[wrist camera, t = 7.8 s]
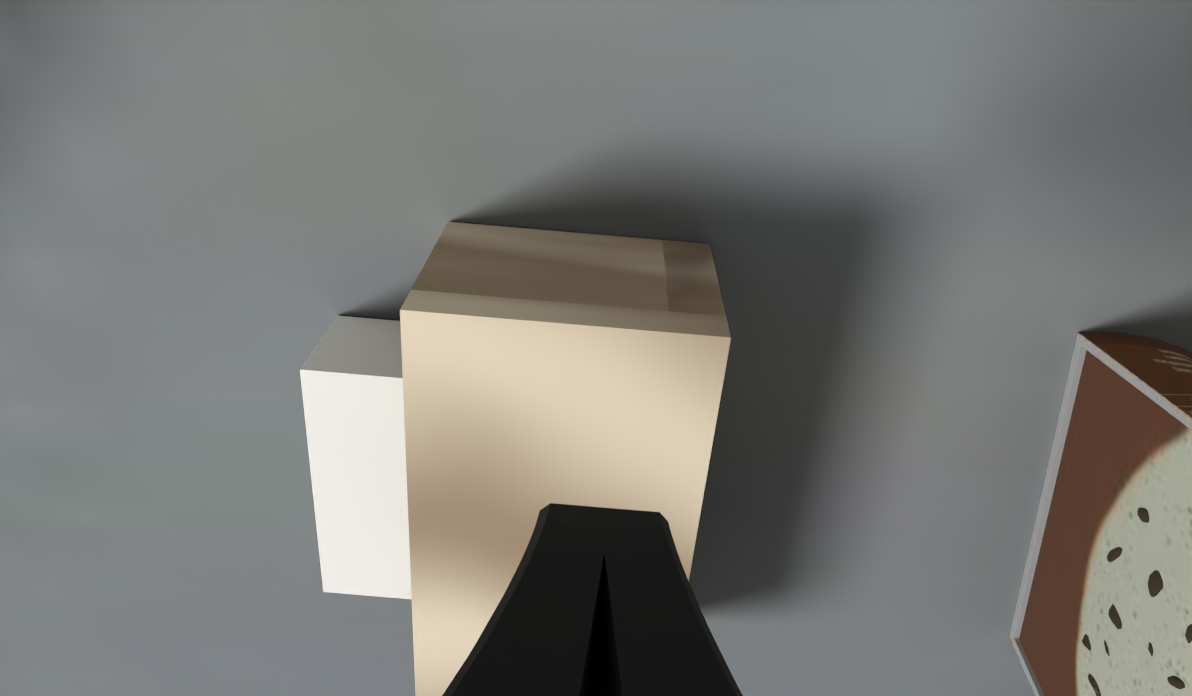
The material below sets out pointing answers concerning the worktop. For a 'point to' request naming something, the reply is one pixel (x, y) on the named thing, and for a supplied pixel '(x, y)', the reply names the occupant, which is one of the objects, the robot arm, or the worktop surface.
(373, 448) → the cover
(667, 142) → the worktop surface
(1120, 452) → the food container
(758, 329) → the worktop surface
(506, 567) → the overhang shelf
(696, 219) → the worktop surface
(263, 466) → the worktop surface
